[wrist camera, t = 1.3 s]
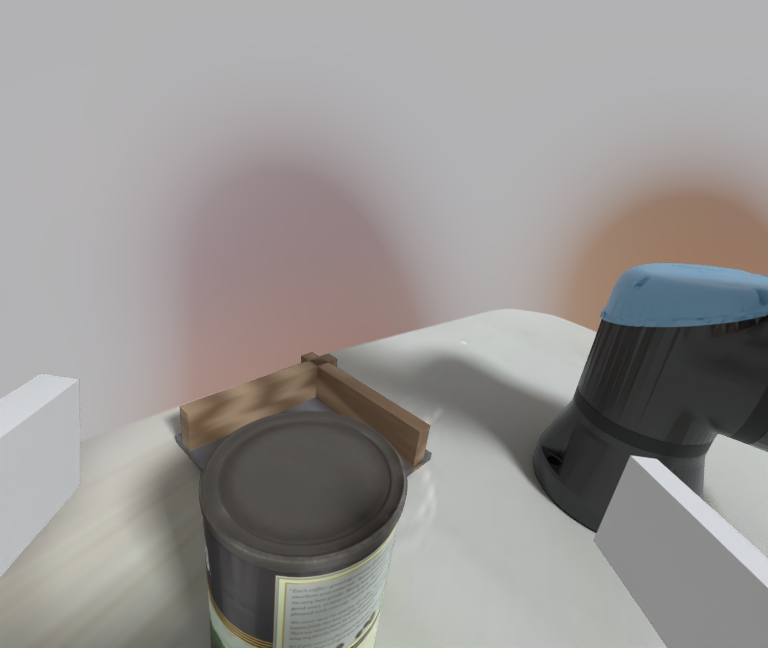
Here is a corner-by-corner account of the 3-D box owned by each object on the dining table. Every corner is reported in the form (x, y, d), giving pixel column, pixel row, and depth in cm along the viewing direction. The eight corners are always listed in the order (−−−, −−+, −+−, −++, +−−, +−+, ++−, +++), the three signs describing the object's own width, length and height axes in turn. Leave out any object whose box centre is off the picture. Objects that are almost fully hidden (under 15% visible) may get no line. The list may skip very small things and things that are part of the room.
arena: (318, 383, 55) (321, 349, 53) (430, 459, 45) (438, 419, 43) (176, 442, 43) (172, 399, 41) (286, 566, 32) (288, 517, 30)
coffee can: (175, 723, 23) (151, 536, 18) (248, 554, 33) (248, 397, 27) (364, 759, 23) (402, 580, 17) (383, 578, 32) (411, 424, 27)
